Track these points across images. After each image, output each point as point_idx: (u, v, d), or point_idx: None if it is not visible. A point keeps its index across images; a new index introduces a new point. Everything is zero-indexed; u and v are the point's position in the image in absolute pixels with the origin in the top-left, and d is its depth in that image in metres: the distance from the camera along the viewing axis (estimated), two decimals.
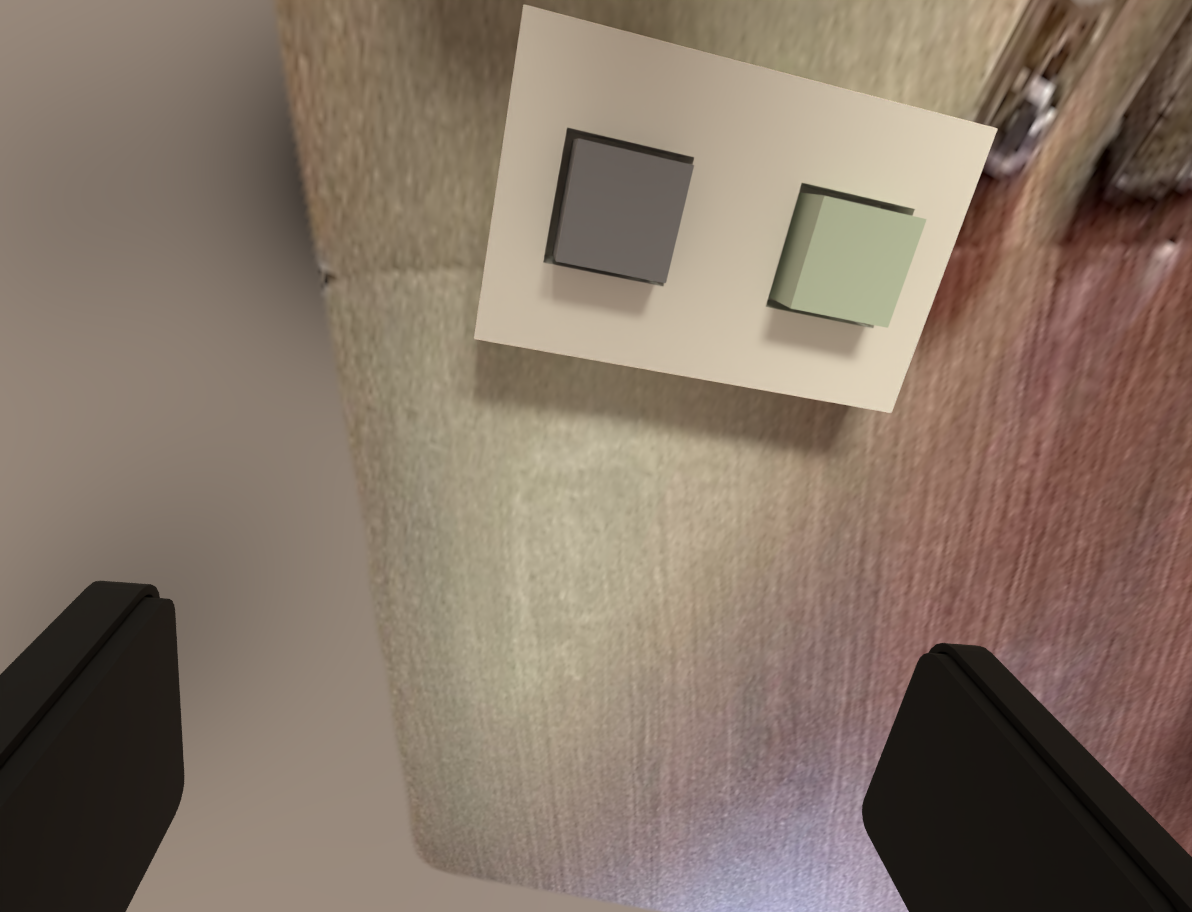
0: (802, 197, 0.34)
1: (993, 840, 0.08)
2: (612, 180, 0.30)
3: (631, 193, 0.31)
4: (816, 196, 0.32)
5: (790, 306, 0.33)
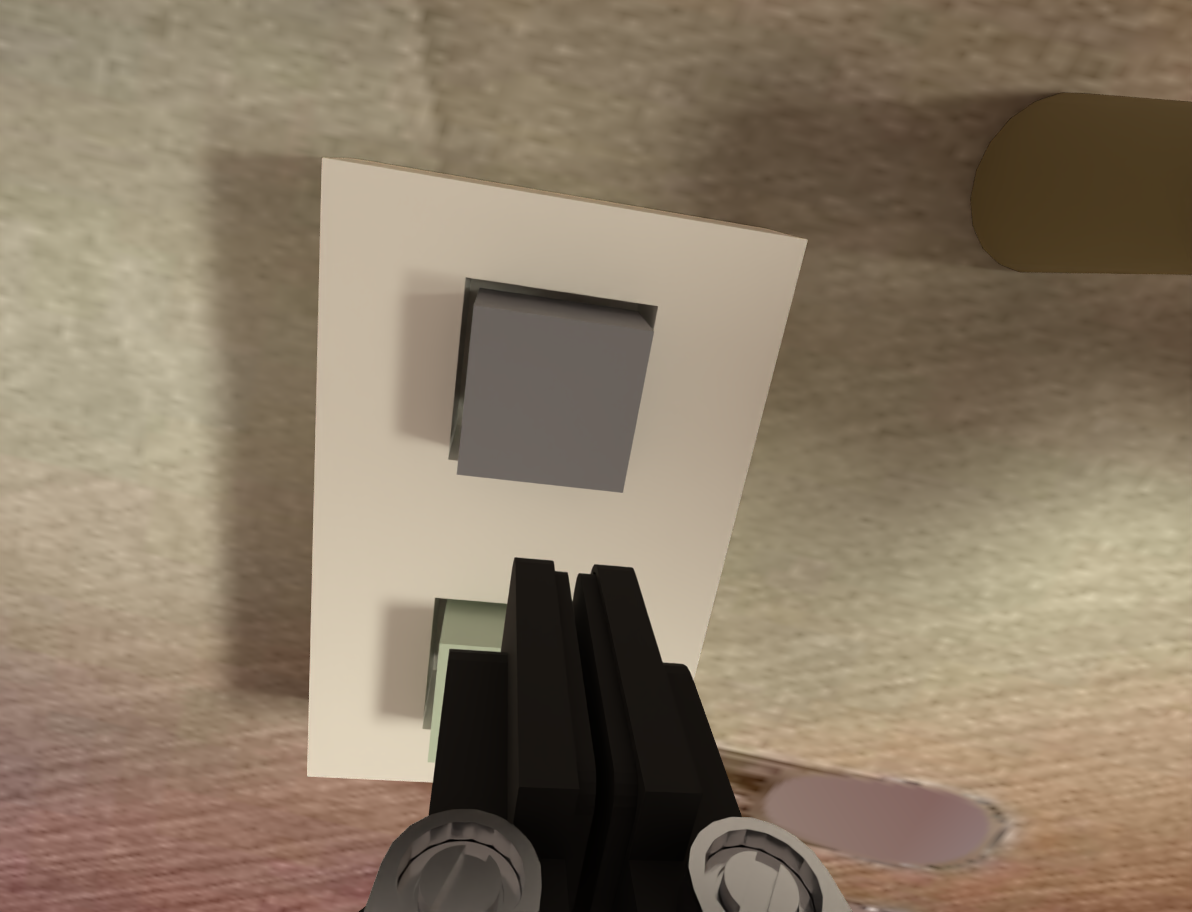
0: None
1: None
2: (598, 384, 0.21)
3: (582, 412, 0.21)
4: None
5: (442, 642, 0.23)
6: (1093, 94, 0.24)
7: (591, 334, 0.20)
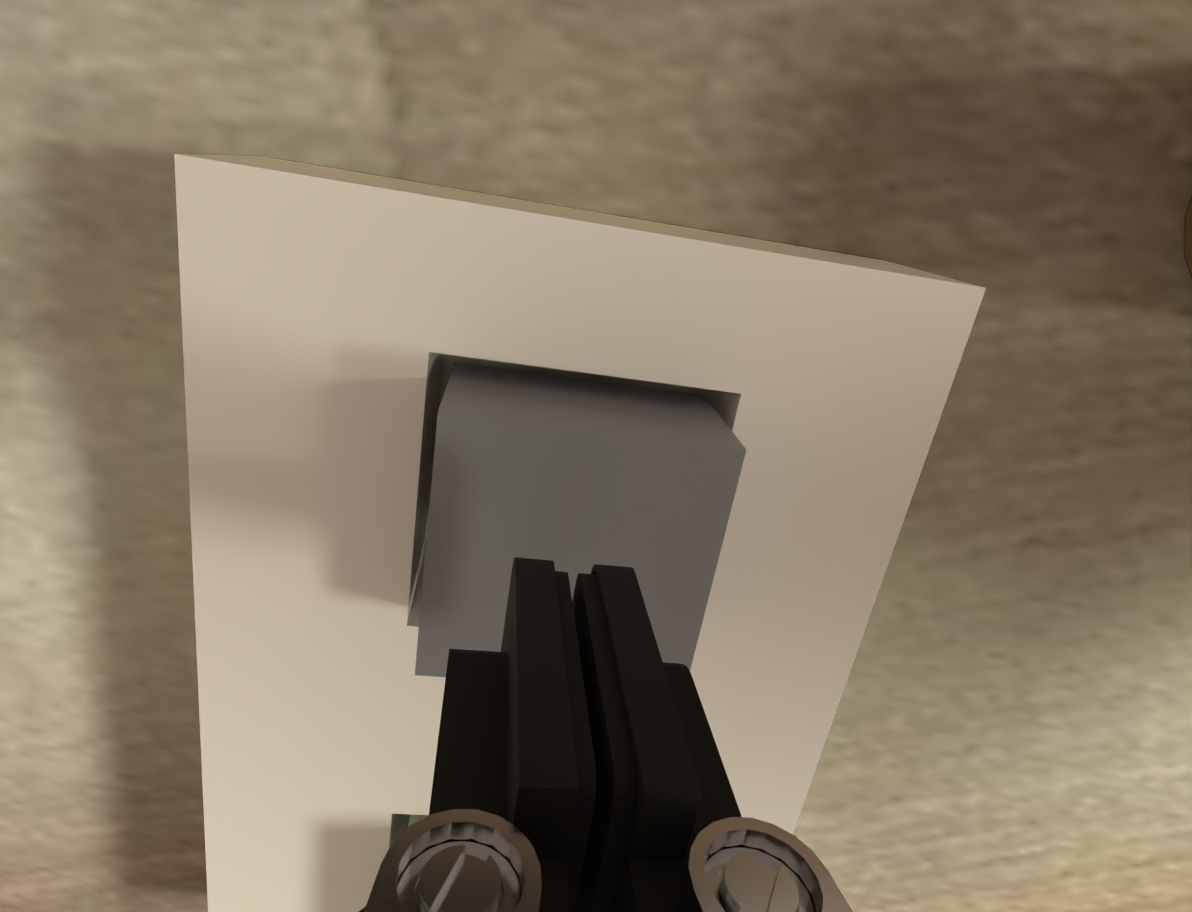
0: None
1: None
2: (650, 534, 0.12)
3: None
4: None
5: None
6: None
7: (640, 456, 0.12)
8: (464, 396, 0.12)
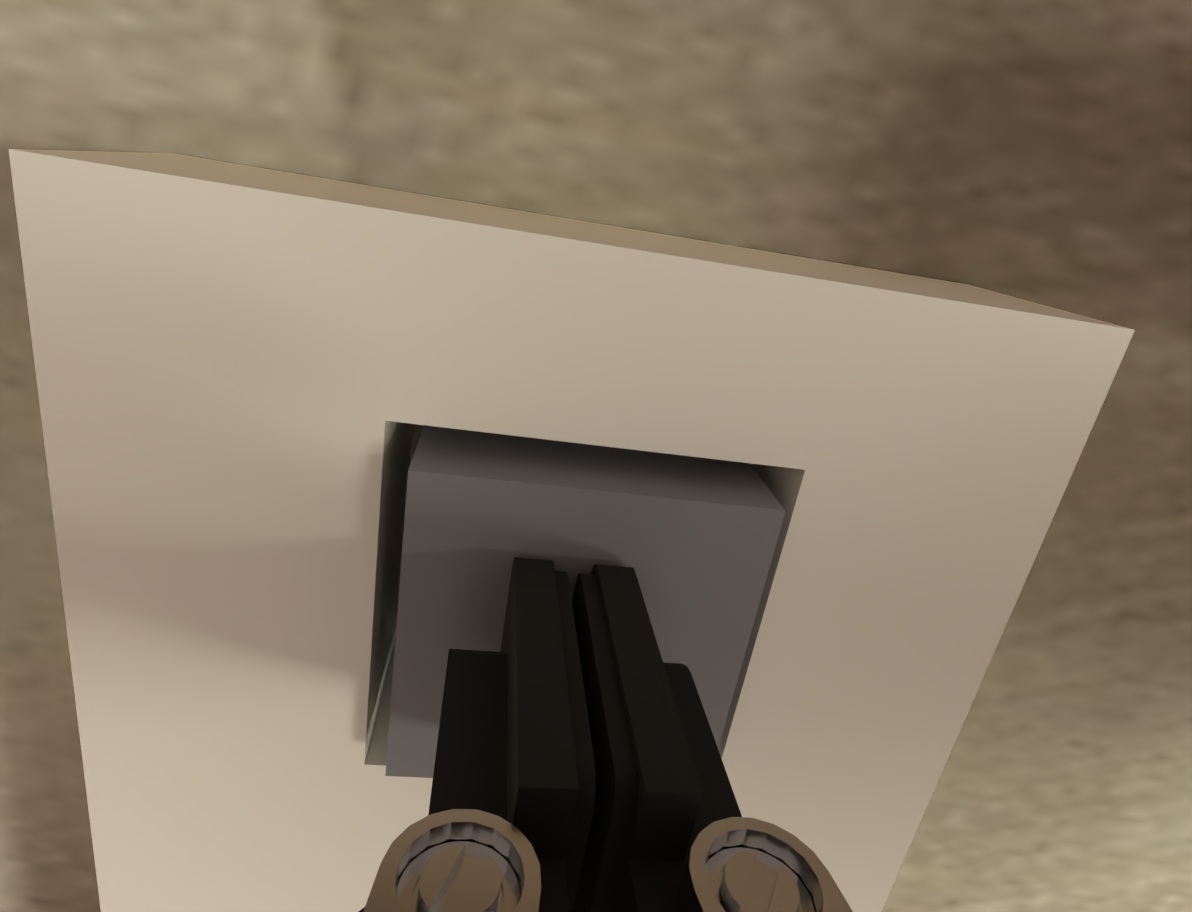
0: None
1: None
2: (668, 611, 0.10)
3: None
4: None
5: None
6: None
7: (657, 520, 0.10)
8: (442, 446, 0.10)
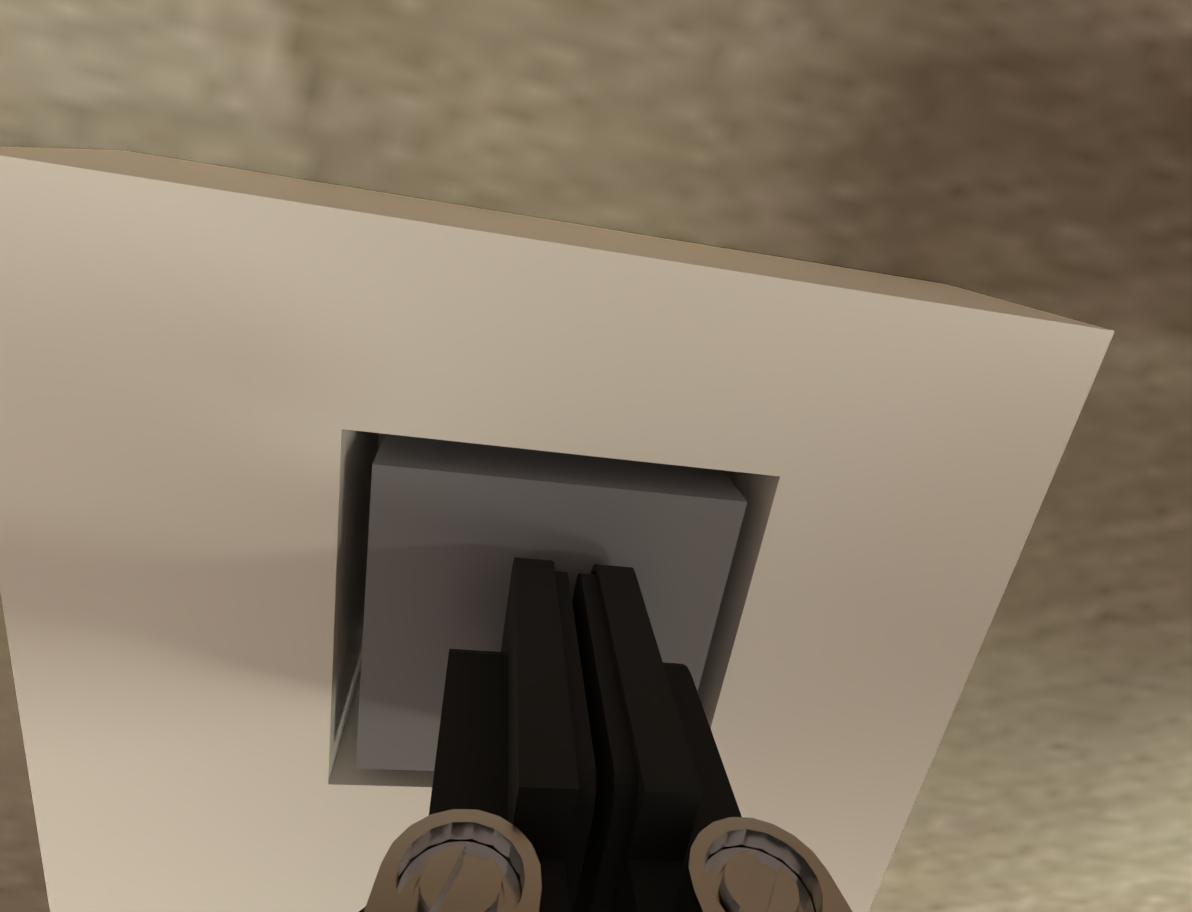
0: None
1: None
2: None
3: None
4: None
5: None
6: None
7: (621, 511, 0.10)
8: (409, 440, 0.10)
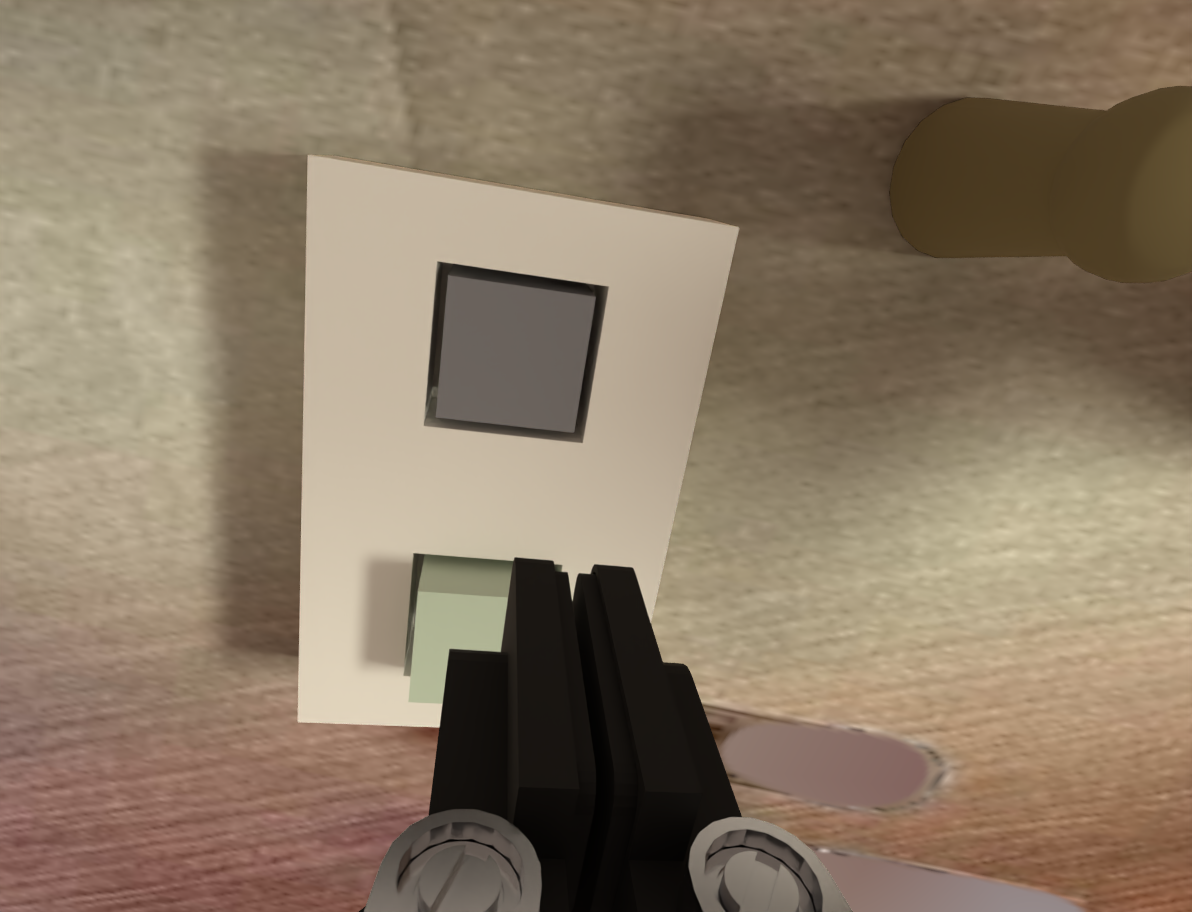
0: None
1: None
2: (551, 341, 0.25)
3: (538, 364, 0.25)
4: None
5: (420, 590, 0.26)
6: (992, 99, 0.27)
7: (544, 299, 0.25)
8: (459, 272, 0.25)
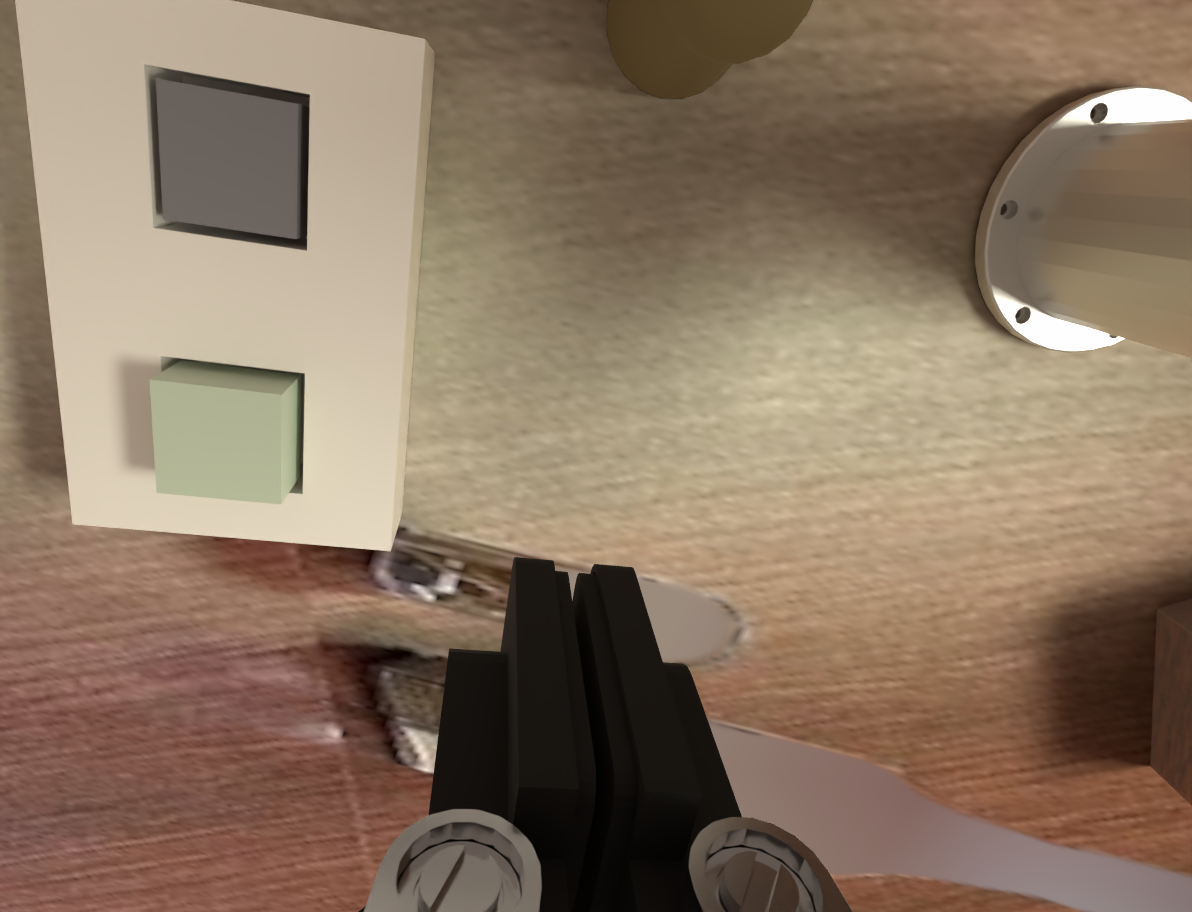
0: (293, 377, 0.32)
1: None
2: (262, 146, 0.28)
3: (253, 169, 0.28)
4: (285, 388, 0.30)
5: (152, 379, 0.29)
6: None
7: (250, 104, 0.27)
8: None
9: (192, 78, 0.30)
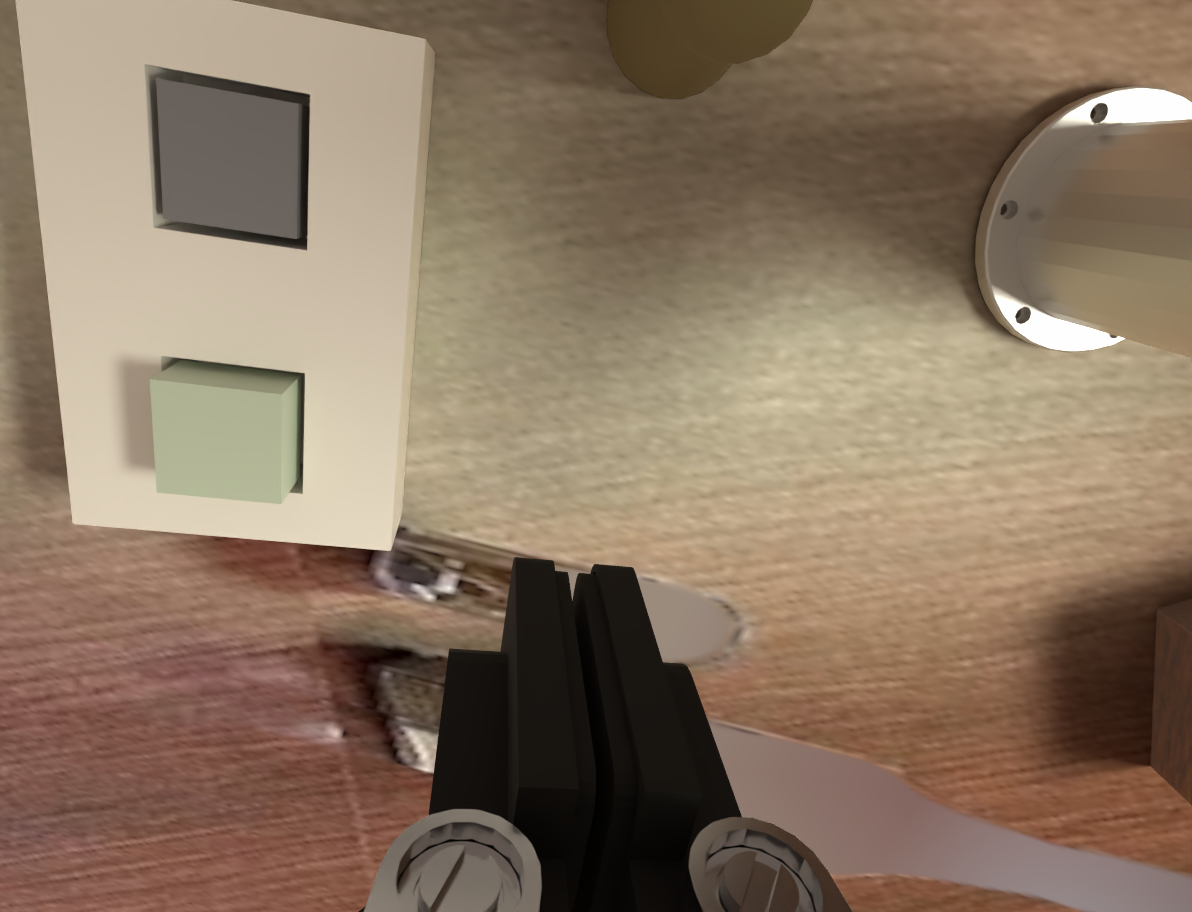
0: (293, 377, 0.32)
1: None
2: (262, 146, 0.28)
3: (253, 169, 0.28)
4: (285, 388, 0.30)
5: (152, 379, 0.29)
6: None
7: (250, 104, 0.27)
8: None
9: (192, 78, 0.30)
